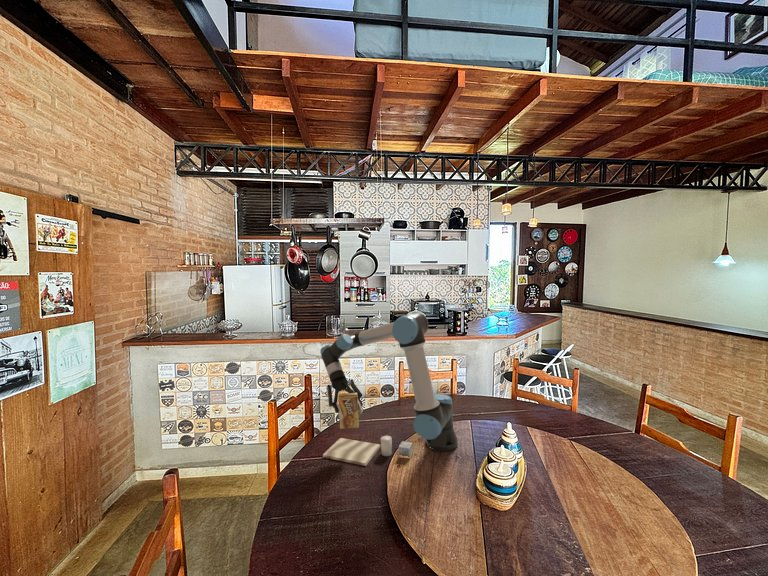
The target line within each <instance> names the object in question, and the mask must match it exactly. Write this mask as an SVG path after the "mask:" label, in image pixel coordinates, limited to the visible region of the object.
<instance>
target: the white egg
mask: <svg viewBox="0 0 768 576" xmlns="http://www.w3.org/2000/svg"><path fill="white" fill-rule="evenodd" d="M392 441H393V440H392V436H390V435H384V436H381V437H380V449H381V450H380V451H381V453H380V454H381V455H382V456H384V457H391V456H392V455H393V442H392Z"/></svg>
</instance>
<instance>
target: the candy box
mask: <svg viewBox="0 0 768 576" xmlns="http://www.w3.org/2000/svg"><path fill="white" fill-rule="evenodd" d="M337 402H338V404H339V406H340V409H341V412H342V414H343V419H342V420H340V418H339V417H338V418H339V429H340V430H341V429H355V428H360V427H359V426H360V420H359V419H360V418H359V417H360V416H359V415H360V414H359V410H358V396H357V393H348V392H346V393H344V392H343V393H338V399H337Z"/></svg>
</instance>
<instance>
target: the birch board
mask: <svg viewBox="0 0 768 576" xmlns="http://www.w3.org/2000/svg"><path fill="white" fill-rule="evenodd" d="M379 449H381V443H380V444H379V443H374V442H368V441H360V440H354V439H349V438H343V437H340V438H339V439H337V440H336V442H334V443H333V444H332V445H331V446H330V447H329V448H328V449H327V450H326V451H325V452H324V453H323V454H322V458H324V457H326V458H325V459H329V458H330V460H335V461H339V462H345V463H349V464H355V465H360V466H365V467H366V466H367V465H368V464H369V463H370V461H372V458H374V456H375V455H376V454H377V452H378V451H379Z"/></svg>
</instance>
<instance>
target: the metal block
mask: <svg viewBox="0 0 768 576" xmlns="http://www.w3.org/2000/svg"><path fill="white" fill-rule="evenodd" d="M413 446H414V445H413V442H409V441H404V440H403V441H401V442H400V444H399V446H398V456H399V455H402V456H408V457H410V455H411V453H412V452H413V453H414V447H413Z"/></svg>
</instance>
